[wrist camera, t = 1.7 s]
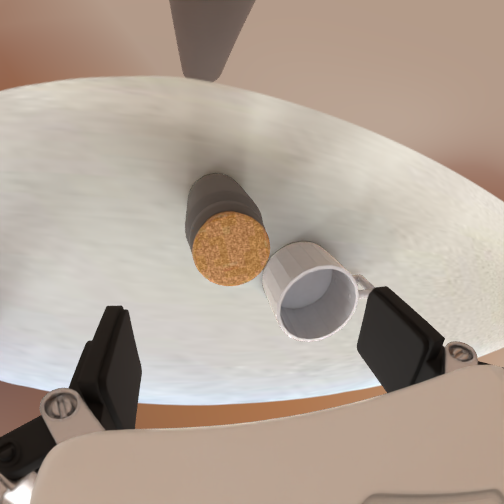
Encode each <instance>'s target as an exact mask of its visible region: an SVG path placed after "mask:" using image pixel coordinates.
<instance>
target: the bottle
mask: <svg viewBox="0 0 504 504" xmlns="http://www.w3.org/2000/svg"><path fill="white" fill-rule="evenodd" d="M185 233H186V238H187V241H188V243H189V246H190V249H191V252H192V255H193V259H194V262H195V265H196V267H197V269H198V270H199V272H200V273H201V274H202V275H203V276H204V277H205V278H206V279H208V280H209V281H211V282H213V283H216V284H219V285H223V286H236V285H240V284H244V283H246V282H248V281H250V280H252V279H254V278H255V277H256V276H257V275H258V274H259V273H260V272H261V271H262V270H263V268H264V267H265V265H266V263H267V261H268V258H269V254H270V242H269V238H268V235H267V233H266V231H265V227H264V225H263V221H262V216H261V213H260V211H259V209H258V207H257V206H256V204H255V203H254V202H253V200H252V199H251V198H250V197H249V196H248V195H247V193H246V192H245V191H244V190H243V189H242V188H241V187H240V186H239V184H238V183H237V182H236V181H235V180H233V179H232V178H230V177H229V176H226V175H223V174H209V175H206V176H204V177H202V178H200V179H199V180H198V181H197V182H196V183H195V184H194V185H193V187H192V188H191V190H190V193H189V197H188V203H187V211H186V222H185Z"/></svg>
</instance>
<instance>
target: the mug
mask: <svg viewBox="0 0 504 504" xmlns="http://www.w3.org/2000/svg"><path fill="white" fill-rule="evenodd" d="M357 283H359V284H360V285H361V286H362V287H363V288H364V289H365V290H358V285H357ZM262 284H263V289H264V292H265V295H266V297H267V300H268V302H269V304H270V306H271V309H272V311H273V313H274V315H275V318H276V320H277V322H278V324H279V327H280V328H281V329H282V330H283V332H284V333H285V334H286V335H287V336H289V337H291V338H293V339H295V340H298V341H306V342H311V341H318V340H322V339H324V338H327V337H329V336H331V335H333V334H335V333H336V332H337V331H339V330H340V329H342V328H343V327H344V326H345V324H346V323H347V322H348V321H349V320H350V319H351V317H352V315H353V313H354V311H355V310H356V308H357V303H358V299H363V298H368V295H369V293H370V292H372V290H373V288H375V287H374V286H373V285H372V284H371V283H370V282H369V281H368V280H366V279H365V278H364V277H363V276H362V275H360V274H359V275H352V274H351V273H350V272H349V271H348V270H347V269H346V268H345V267H343V266H342V265H341V264H340V263H339V262H338V261H337V260H336V259H335V258H334V257H333V256H332V255H331V254H330V253H329V252H327V251H326V250H325V249H324V248H322V247H321V246H319V245H317V244H315V243H312V242H296V243H292V244H289V245H287V246H285V247H283V248H281V249H280V250H278V251H277V252H276V253H275V254H274V255H273V256H272V257H271V258H270V260H269V261H268V263H267V265H266V267H265V269H264V273H263V278H262Z"/></svg>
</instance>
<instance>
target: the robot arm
mask: <svg viewBox="0 0 504 504" xmlns="http://www.w3.org/2000/svg"><path fill="white" fill-rule="evenodd" d="M444 340H445V338H444V337H443V336H442V335H441V334H440V333H439V332H438V331H436V330H435V329H434V328H433V327H432V326H431V325H430V324H429V323H428V322H427V321H426V320H424V319H423V318H422V317H421V316H420V315H419V314H418V313H417V312H416V311H414V310H413V309H412V308H411V307H410V306H409V305H408V304H407V303H405V302H404V301H403V300H402V299H401V298H400V297H399V296H398V295H396V294H395V293H394V292H393V291H392V290H391V289H389V288H388V287H387V286H385V287H376V288H373V290H372V292H370V293H369V295H368V299H367V304H366V309H365V313H364V318H363V322H362V326H361V330H360V335H359V339H358V343H357V350H358V352H359V354H360V355H361V357H362V358H363V359H364V361H365V362H366V364H367V365H368V366H369V368H370V369H371V371H372V372H373V373H374V375H375V376H376V378H377V379H378V380H379V382H380V383H381V385H382V386H383V387H384V389H385V390H386V392H387V394H383V395H380V396H376V397H373V398H369V399H365V400H362V401H358V402H354V403H350V404H346V405H342V406H338V407H334V408H329V409H325V410H320V411H315V412H310V413H305V414H300V415H294V416H289V417H283V418H276V419H270V420H263V421H255V422H247V423H239V424H229V425H219V426H205V427H189V428H167V429H166V428H165V429H135V421H136V412H137V404H138V396H139V389H140V382H141V375H142V370H141V364H140V360H139V356H138V352H137V348H136V343H135V339H134V335H133V330H132V325H131V321H130V316H129V312H128V310H124V309H123V307H122V306H107V307H106V309H105V311H104V314H103V316H102V318H101V321H100V323H99V326H98V328H97V330H96V333H95V335H94V338H93V340H92V341H88V342H87V343H86V345H85V347H84V350H83V352H82V355H81V357H80V360H79V362H78V365H77V367H76V370H75V373H74V375H73V378H72V380H71V383H70V386H69V388H58V389H55V390H52V391H51V392H49V393H48V394H46V396H44V398H43V399H42V401H41V403H40V412H41V416H39V417H37V418H35V419H33V420H32V421H30V422H28V423H26V424H24V425H22V426H21V427H19V428H17V429H15V430H13V431H11V432H9V433H7V434H6V435H4V436H2V437H0V504H504V368H503V367H500V366H495V365H491V364H487V363H483V362H479V361H478V360H477V354H476V352H475V351H474V349H473V348H472V347H470V346H469V345H467V344H465V343H462V342H457V341H455V342H450V343H448V344H447V345H446V347H444V346H443V342H444Z"/></svg>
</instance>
